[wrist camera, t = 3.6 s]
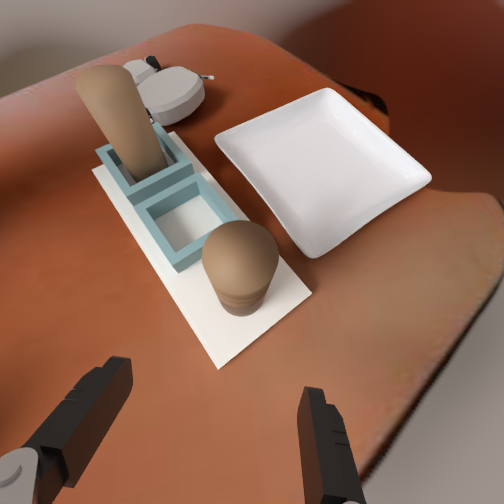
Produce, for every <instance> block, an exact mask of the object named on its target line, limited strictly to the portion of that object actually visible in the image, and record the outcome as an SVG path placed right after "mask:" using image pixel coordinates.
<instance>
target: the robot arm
mask: <svg viewBox="0 0 504 504" xmlns="http://www.w3.org/2000/svg"><path fill="white" fill-rule="evenodd" d="M132 386H133V375H132V365H131V359H130V358H125V357H118V356H112V357H110V358H109V359H108V361H107V362H106V363H105V364H104V365H103V367H102V368H101V367H95V368H94V369H92V370H91V371H90V372H88V373H87V374H85V375H84V376H83V377H82V378H81V379H80V380H79V381H78V383H77V384H76V385H75V386H74V387H73V389H72V390H71V391H70V392H69V393H68V394H67V395H66V397H65V398H64V400H63V401H61V402H60V404H59V405H58V406H57V407H56V408H55V409H54V411H53V412H52V413H51V414H50V415H49V416H48V418H47V419H46V420H45V421H44V422H43V423H42V425H41V426H40V427H39V428H38V429H37V430H36V432H35V433H34V434H33V435H32V436H31V437H30V439H29V440H28V441H27V442H26V443H25V444H24V445H23V446H22V447H21V448H19V449H16V450H13V451H11V452H9V453H7V454H5V455H4V456H2V457H1V458H0V504H55V498H56V496H57V495H58V493H59V492H60V490H61V489H62V487H63V486H64V487H69V488H74V487H75V485H76V484H77V482H78V480H79V479H80V477H81V475H82V474H83V472H84V470H85V469H86V467H87V465H88V463H89V462H90V460H91V458H92V457H93V455H94V453H95V452H96V450H97V448H98V447H99V445H100V443H101V442H102V440H103V438H104V437H105V435H106V433H107V432H108V430H109V428H110V427H111V425H112V423H113V422H114V420H115V418H116V416H117V415H118V413H119V411H120V410H121V408H122V406H123V405H124V403H125V401H126V400H127V398H128V396H129V394H130V392H131V389H132ZM297 426H298V436H299V446H300V456H301V466H302V476H303V486H304V496H305V504H366V501H365V498H364V494H363V491H362V487H361V484H360V480H359V476H358V473H357V469H356V465H355V462H354V458H353V454H352V451H351V448H350V443H349V440H348V436H347V435H346V429H345V425H344V422H343V418H342V416H341V415H340V413H339V412H338V410H337V408H336V407H335V405H331V404H326V400H325V396H324V392H323V390H322V389H319V388H313V387H306V386H305V387H304V390H303V394H302V397H301V400H300V404H299V407H298V413H297Z"/></svg>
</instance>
